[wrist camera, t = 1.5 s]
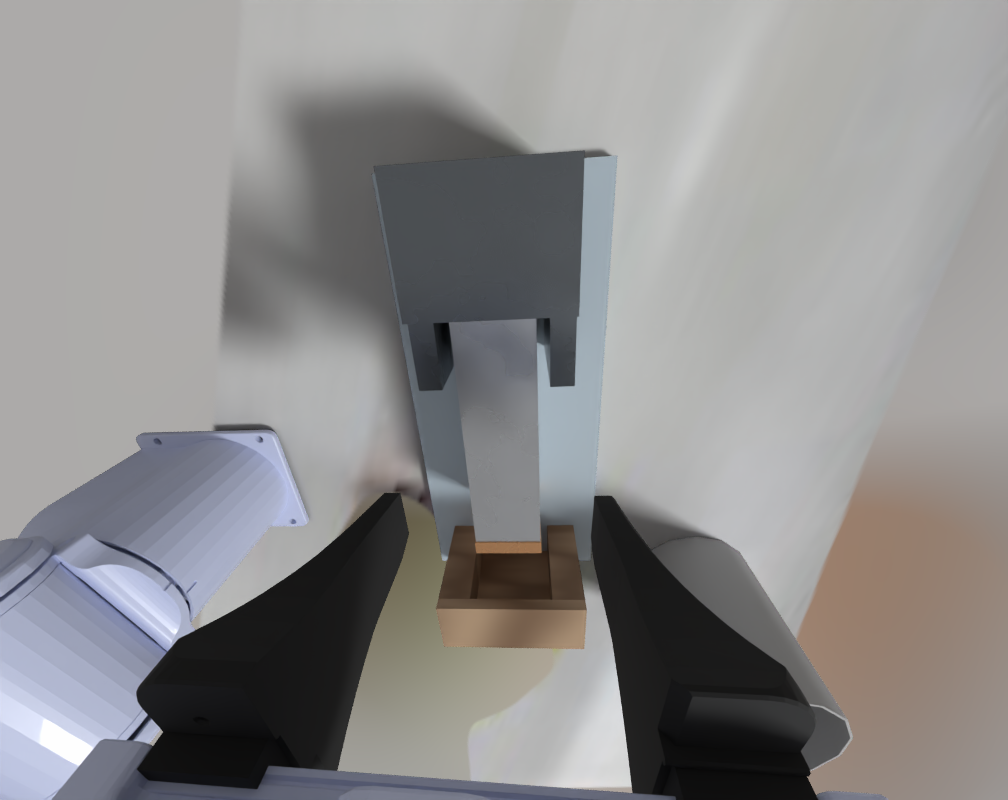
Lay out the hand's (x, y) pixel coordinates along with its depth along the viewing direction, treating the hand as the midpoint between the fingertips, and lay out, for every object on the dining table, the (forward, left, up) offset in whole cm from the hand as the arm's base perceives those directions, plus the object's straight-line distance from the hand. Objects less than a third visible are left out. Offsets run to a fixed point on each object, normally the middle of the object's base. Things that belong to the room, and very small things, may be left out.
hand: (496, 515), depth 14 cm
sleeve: (0, +8, -10) cm, 12 cm away
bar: (0, +2, -9) cm, 9 cm away
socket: (0, -11, -10) cm, 15 cm away
